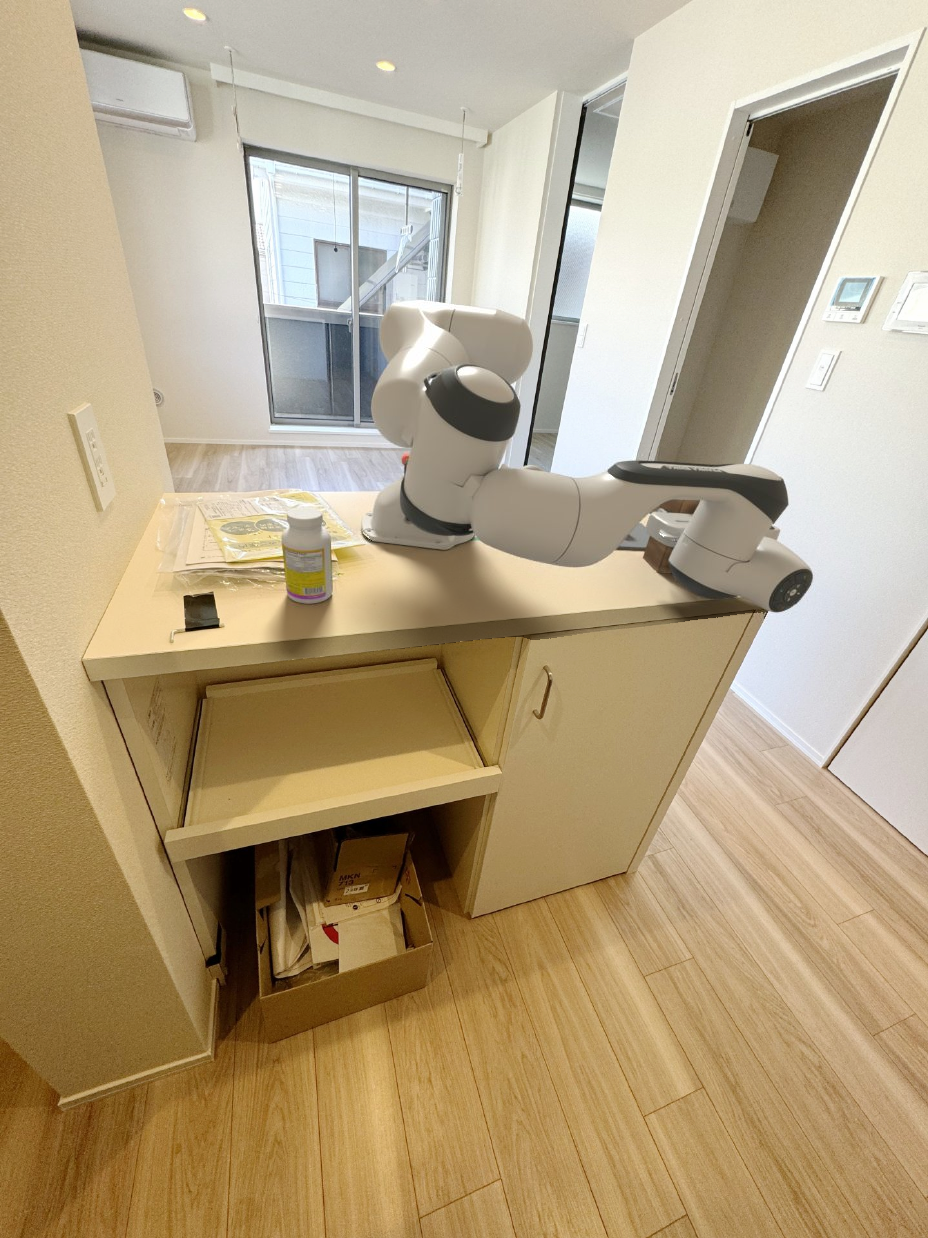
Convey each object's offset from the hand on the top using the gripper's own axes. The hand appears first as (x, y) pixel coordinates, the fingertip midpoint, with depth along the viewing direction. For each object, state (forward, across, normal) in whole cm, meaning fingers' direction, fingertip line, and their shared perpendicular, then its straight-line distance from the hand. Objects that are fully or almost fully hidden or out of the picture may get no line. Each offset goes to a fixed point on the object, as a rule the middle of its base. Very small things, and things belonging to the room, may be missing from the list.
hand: (684, 513), depth 94 cm
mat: (+14, -4, -11) cm, 18 cm away
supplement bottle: (-15, -66, -11) cm, 68 cm away
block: (0, 0, -11) cm, 11 cm away
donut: (+29, -22, -11) cm, 38 cm away
